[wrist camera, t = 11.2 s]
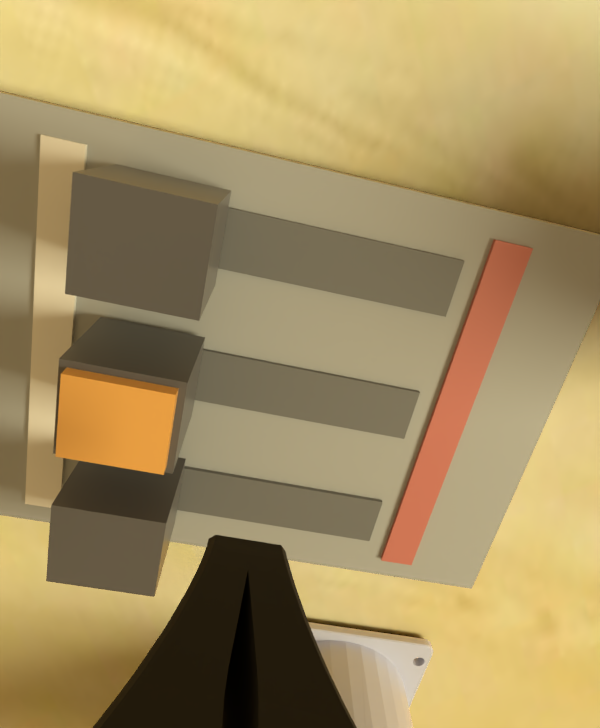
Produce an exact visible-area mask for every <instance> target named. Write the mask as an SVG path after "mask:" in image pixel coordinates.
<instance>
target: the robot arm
mask: <svg viewBox="0 0 600 728" xmlns="http://www.w3.org/2000/svg"><path fill="white" fill-rule="evenodd" d="M432 655H433V649H432V645H431V643H430V642H429V641H428V640H426V639H422V638H415V637H408V636H401V635H394V634H387V633H380V632H374V631H367V630H360V629H353V628H346V627H339V626H332V625H325V624H318V623H311V622H308V620H307V618H306V615H305V612H304V610H303V607H302V604H301V601H300V598H299V595H298V593H297V590H296V587H295V584H294V580H293V577H292V574H291V571H290V567H289V563H288V559H287V555H286V551H285V550H284V548H283V547H282V546H281V545H277V544H271V543H265V542H259V541H252V540H246V539H240V538H234V537H227V536H221V535H214V536H213V537H211V538H209V539H208V543H207V547H206V550H205V553H204V556H203V558H202V561H201V563H200V565H199V568H198V570H197V572H196V574H195V576H194V578H193V580H192V582H191V584H190V586H189V588H188V590H187V591H186V593H185V595H184V597H183V598H182V600H181V602H180V603H179V605H178V607H177V609H176V610H175V612H174V614H173V616H172V617H171V619H170V621H169V622H168V624H167V626H166V627H165V629H164V630H163V632H162V633H161V635H160V636H159V638H158V639H157V641H156V642H155V644H154V645H153V647H152V648H151V650H150V651H149V653H148V654H147V656H146V657H145V659H144V660H143V661H142V663H141V664H140V666H139V667H138V669H137V670H136V672H135V673H134V674H133V676H132V677H131V678H130V680H129V681H128V683H127V684H126V685H125V687H124V688H123V689H122V691H121V692H120V693H119V695H118V696H117V697H116V699H115V700H114V701H113V702H112V704H111V705H110V706H109V708H108V709H107V710H106V711H105V713H104V714H103V715H102V716H101V718H100V719H99V720H98V722H97V723H96V724H95V725H94V726H93V728H413V724H412V720H411V715H410V710H409V707H410V705H411V703H412V700H413V698H414V696H415V693H416V691H417V689H418V687H419V684H420V682H421V680H422V677H423V675H424V673H425V671H426V668H427V666H428V664H429V661H430V659H431V657H432Z"/></svg>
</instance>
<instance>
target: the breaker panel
mask: <svg viewBox="0 0 600 728" xmlns="http://www.w3.org/2000/svg"><path fill="white" fill-rule="evenodd" d="M115 164H118V165H122V166H126V167H131V168H135V169H139V170H144V171H148V172H152V173H157V174H161V175H166V176H170V177H174V178H179V179H183V180H187V181H192V182H196V183H200V184H205V185H209V186H213V187H218V188H222V189H227V190H231V196H230V201H229V207H228V213H227V219H226V225H225V231H224V237H223V243H222V249H221V254H220V260H219V266H218V272H217V278H216V284H215V287H214V289H213V292H212V294H211V296H210V298H209V300H208V303H207V305H206V307H205V309H204V311H203V314H202V316H201V318H200V320H199V321H197V320H192V319H187V318H182V317H177V316H172V315H167V314H162V313H157V312H152V311H147V310H143V309H138V308H133V307H128V306H123V305H118V304H113V303H108V302H103V301H98V300H93V299H88V298H83V297H78V296H73V295H68V294H65V283H66V268H67V252H68V237H69V221H70V206H71V190H72V174H73V172H75V171H81V170H86V169H92V168H98V167H103V166H109V165H115ZM599 302H600V234H598V233H594V232H590V231H586V230H582V229H578V228H573V227H569V226H565V225H561V224H557V223H552V222H548V221H544V220H540V219H536V218H531V217H527V216H523V215H519V214H515V213H510V212H506V211H502V210H498V209H494V208H489V207H485V206H481V205H477V204H473V203H469V202H464V201H460V200H456V199H452V198H448V197H443V196H439V195H435V194H431V193H427V192H422V191H418V190H414V189H410V188H406V187H401V186H397V185H393V184H389V183H385V182H380V181H376V180H372V179H368V178H364V177H360V176H355V175H351V174H347V173H343V172H339V171H334V170H330V169H326V168H322V167H318V166H313V165H309V164H305V163H301V162H297V161H292V160H288V159H284V158H280V157H276V156H271V155H267V154H263V153H259V152H255V151H251V150H246V149H242V148H238V147H234V146H230V145H225V144H221V143H217V142H213V141H209V140H204V139H200V138H196V137H192V136H188V135H183V134H179V133H175V132H171V131H167V130H162V129H158V128H154V127H150V126H146V125H142V124H137V123H133V122H129V121H125V120H121V119H116V118H112V117H108V116H104V115H100V114H95V113H91V112H87V111H83V110H79V109H74V108H70V107H66V106H62V105H58V104H53V103H49V102H45V101H41V100H37V99H33V98H28V97H24V96H20V95H16V94H12V93H7V92H3V91H0V515H4V516H11V517H17V518H23V519H30V520H36V521H43V522H49V523H50V517H51V505H52V503H53V502H54V500H55V498H56V497H57V495H58V494H59V492H60V490H61V489H62V487H63V486H64V484H65V482H66V481H67V479H68V478H69V476H70V474H71V473H72V471H73V470H74V468H75V466H76V465H77V463H78V462H79V460H73V459H67V458H61V457H55V455H56V454H53V446H54V430H55V415H56V399H57V383H58V367H59V358H60V357H61V356H62V355H63V354H64V353H65V352H66V351H67V350H68V349H69V348H70V347H71V346H72V345H73V344H74V343H75V342H76V341H77V340H78V339H79V338H80V337H81V336H82V335H83V334H84V333H85V332H86V331H87V330H88V329H89V328H90V327H91V326H92V325H93V324H94V323H95V322H96V321H97V320H98V319H99V318H100V317H105V318H110V319H115V320H120V321H125V322H130V323H135V324H140V325H145V326H150V327H155V328H160V329H165V330H170V331H175V332H180V333H186V334H191V335H196V336H201V337H205V341H204V347H203V353H202V359H201V365H200V370H199V376H198V382H197V388H196V394H195V400H194V406H193V412H192V417H191V420H190V423H189V426H188V429H187V432H186V435H185V438H184V441H183V444H182V447H181V450H180V453H179V458H185V459H186V460H185V466H184V472H183V478H182V484H181V490H180V496H179V501H178V507H177V513H176V519H175V524H174V528H173V532H172V535H171V539H170V542H177V543H183V544H190V545H196V546H202V547H207V543H208V539H209V538H211V537H213V536H214V535H221V536H227V537H234V538H240V539H246V540H252V541H259V542H265V543H271V544H277V545H281V546H282V547H283V548H284V550H285V551H286V555H287V559H288V560H292V561H298V562H305V563H311V564H318V565H324V566H330V567H337V568H343V569H350V570H356V571H362V572H369V573H375V574H382V575H388V576H394V577H401V578H407V579H414V580H420V581H426V582H433V583H439V584H446V585H452V586H458V587H465V588H471V589H472V587H473V585H474V582H475V580H476V578H477V576H478V573H479V571H480V569H481V567H482V564H483V562H484V560H485V558H486V555H487V553H488V551H489V549H490V547H491V544H492V542H493V540H494V538H495V535H496V533H497V531H498V529H499V526H500V524H501V522H502V520H503V517H504V515H505V513H506V511H507V508H508V506H509V504H510V502H511V500H512V497H513V495H514V493H515V491H516V488H517V486H518V484H519V482H520V479H521V477H522V475H523V473H524V470H525V468H526V466H527V464H528V461H529V459H530V457H531V455H532V452H533V450H534V448H535V446H536V444H537V441H538V439H539V437H540V435H541V432H542V430H543V428H544V426H545V423H546V421H547V419H548V417H549V414H550V412H551V410H552V408H553V405H554V403H555V401H556V399H557V396H558V394H559V392H560V390H561V388H562V385H563V383H564V381H565V379H566V376H567V374H568V372H569V370H570V367H571V365H572V363H573V361H574V358H575V356H576V354H577V352H578V349H579V347H580V345H581V343H582V341H583V338H584V336H585V334H586V332H587V329H588V327H589V325H590V323H591V320H592V318H593V316H594V314H595V311H596V309H597V307H598V305H599Z"/></svg>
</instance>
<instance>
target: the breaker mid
mask: <svg viewBox="0 0 600 728" xmlns="http://www.w3.org/2000/svg"><path fill="white" fill-rule="evenodd" d="M204 341H205V337H201V336H196V335H191V334H186V333H180V332H175V331H170V330H165V329H160V328H155V327H150V326H145V325H140V324H135V323H130V322H125V321H120V320H115V319H110V318H105V317H100V318H99V319H98V320H97V321H96V322H95V323H94V324H93V325H92V326H91V327H90V328H89V329H88V330H87V331H86V332H85V333H84V334H83V335H82V336H81V337H80V338H79V339H78V340H77V341H76V342H75V343H74V344H73V345H72V346H71V347H70V348H69V349H68V350H67V351H66V352H65V353H64V354H63V355H62V356H61V357H60V358H59V367H58V383H57V399H56V415H55V430H54V446H53V454H56V455H55V457H61V458H67V459H73V460H79V461H84V462H90V463H96V464H102V465H108V466H114V467H120V468H126V469H132V470H138V471H143V472H149V473H155V474H161V475H164V472H165V473H171V474H173V472H174V469H175V466H176V463H177V460H178V457H179V453H180V450H181V447H182V444H183V441H184V438H185V435H186V432H187V429H188V426H189V423H190V420H191V417H192V412H193V406H194V400H195V394H196V388H197V382H198V376H199V370H200V365H201V359H202V353H203V347H204Z"/></svg>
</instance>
